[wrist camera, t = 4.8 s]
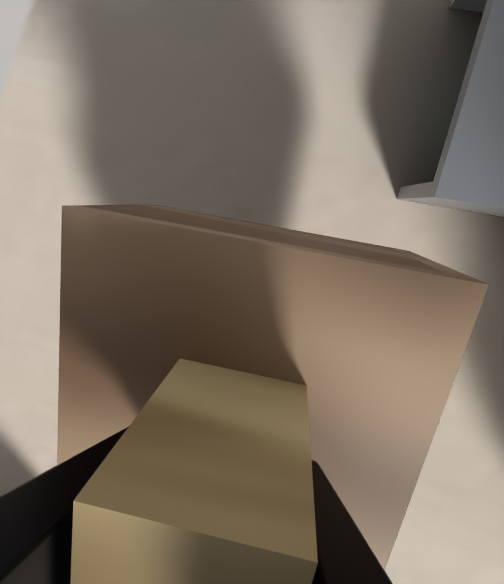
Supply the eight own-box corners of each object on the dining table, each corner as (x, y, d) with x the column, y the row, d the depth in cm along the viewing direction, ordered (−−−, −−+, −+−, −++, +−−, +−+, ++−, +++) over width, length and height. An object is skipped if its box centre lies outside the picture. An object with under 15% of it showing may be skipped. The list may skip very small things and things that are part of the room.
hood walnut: (345, 467, 14) (425, 896, 5) (134, 419, 15) (-98, 729, 6) (408, 250, 12) (742, 391, 3) (153, 204, 12) (-188, 208, 4)
